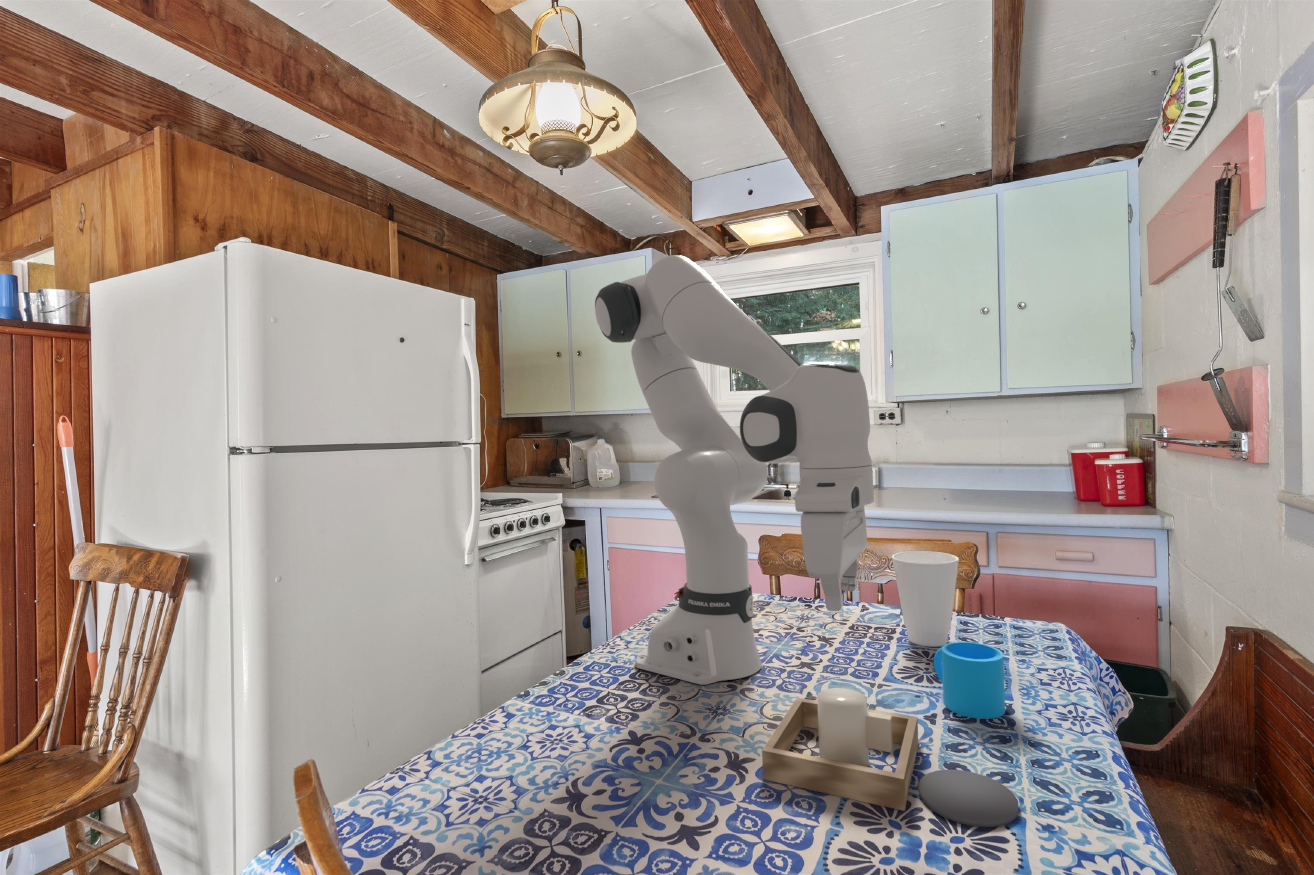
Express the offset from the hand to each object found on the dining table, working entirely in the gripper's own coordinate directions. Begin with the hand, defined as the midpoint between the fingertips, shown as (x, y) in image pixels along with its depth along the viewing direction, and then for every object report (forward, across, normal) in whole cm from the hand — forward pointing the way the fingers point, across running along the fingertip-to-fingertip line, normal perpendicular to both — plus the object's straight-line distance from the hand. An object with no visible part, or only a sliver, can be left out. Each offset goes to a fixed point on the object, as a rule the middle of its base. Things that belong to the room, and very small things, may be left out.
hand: (842, 599), depth 80 cm
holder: (+20, 0, -1) cm, 20 cm away
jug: (+20, 0, +1) cm, 20 cm away
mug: (+21, -24, +12) cm, 34 cm away
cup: (+20, -50, +5) cm, 54 cm away
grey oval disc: (+21, +4, +13) cm, 25 cm away
